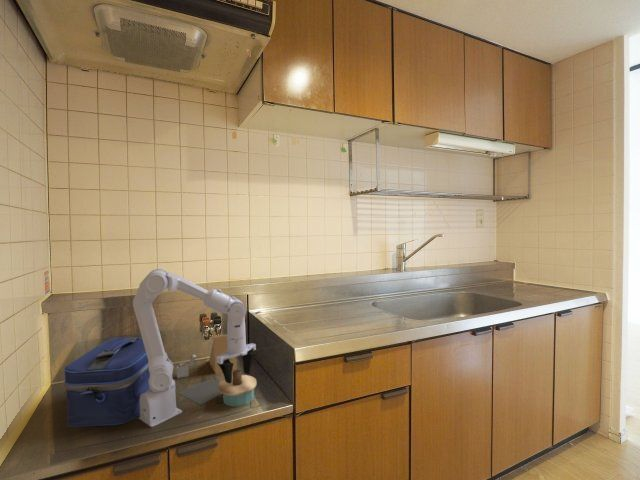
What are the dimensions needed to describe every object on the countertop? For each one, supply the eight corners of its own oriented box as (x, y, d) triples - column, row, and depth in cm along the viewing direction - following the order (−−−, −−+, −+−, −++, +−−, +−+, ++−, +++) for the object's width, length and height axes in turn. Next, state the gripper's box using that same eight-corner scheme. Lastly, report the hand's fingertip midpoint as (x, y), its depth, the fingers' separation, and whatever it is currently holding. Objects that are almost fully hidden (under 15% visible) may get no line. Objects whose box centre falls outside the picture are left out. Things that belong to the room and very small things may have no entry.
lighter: (177, 379, 127) (176, 358, 126) (176, 377, 128) (176, 356, 128) (197, 375, 129) (196, 355, 129) (196, 373, 131) (196, 353, 131)
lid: (234, 399, 102) (234, 384, 102) (209, 388, 109) (209, 373, 109) (264, 383, 112) (264, 369, 112) (239, 374, 119) (239, 360, 119)
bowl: (236, 410, 104) (236, 396, 104) (217, 401, 110) (216, 388, 110) (259, 397, 112) (259, 384, 112) (240, 389, 117) (240, 376, 117)
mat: (200, 405, 107) (200, 404, 107) (178, 394, 115) (178, 393, 115) (233, 389, 118) (233, 388, 118) (210, 379, 126) (210, 378, 126)
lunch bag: (128, 432, 95) (125, 360, 94) (48, 437, 93) (44, 364, 92) (168, 381, 125) (166, 326, 124) (109, 384, 124) (106, 329, 123)
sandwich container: (228, 357, 147) (227, 323, 146) (237, 370, 133) (236, 333, 133) (208, 361, 143) (206, 326, 142) (214, 375, 129) (213, 336, 129)
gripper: (226, 346, 102) (227, 390, 102) (261, 333, 113) (262, 372, 114) (211, 341, 106) (213, 383, 106) (247, 329, 117) (248, 367, 118)
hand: (238, 377), depth 110 cm, fingers open, 7 cm apart
